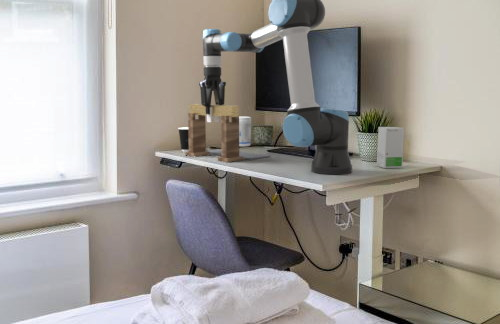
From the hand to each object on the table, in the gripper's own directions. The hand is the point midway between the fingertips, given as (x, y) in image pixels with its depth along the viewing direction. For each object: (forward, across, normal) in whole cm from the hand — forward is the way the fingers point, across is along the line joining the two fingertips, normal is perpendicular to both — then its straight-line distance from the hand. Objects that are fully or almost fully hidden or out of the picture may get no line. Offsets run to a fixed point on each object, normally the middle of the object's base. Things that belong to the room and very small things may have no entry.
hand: (213, 121), depth 237 cm
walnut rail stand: (+16, 0, 0) cm, 16 cm away
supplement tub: (+16, -37, -21) cm, 46 cm away
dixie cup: (+16, -5, -25) cm, 30 cm away
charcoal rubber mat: (+16, -13, 0) cm, 20 cm away
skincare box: (+17, -33, +67) cm, 76 cm away
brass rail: (-3, 0, 0) cm, 3 cm away
